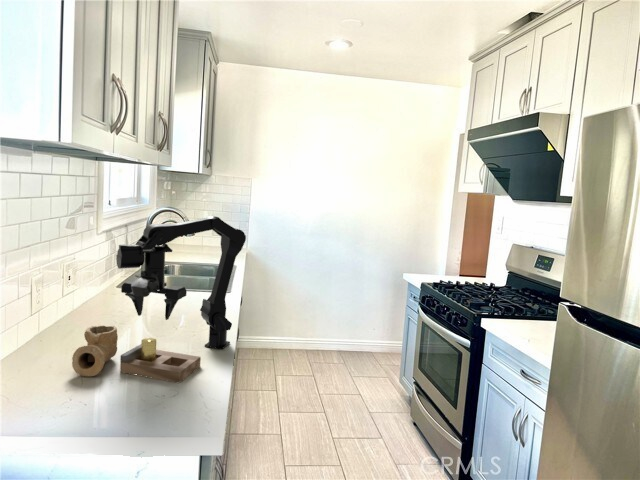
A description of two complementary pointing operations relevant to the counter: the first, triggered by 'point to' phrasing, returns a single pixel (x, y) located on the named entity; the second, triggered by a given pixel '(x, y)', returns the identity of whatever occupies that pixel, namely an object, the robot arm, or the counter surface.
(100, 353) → the pipe
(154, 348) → the brass cylinder rod
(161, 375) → the jig
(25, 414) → the counter surface
